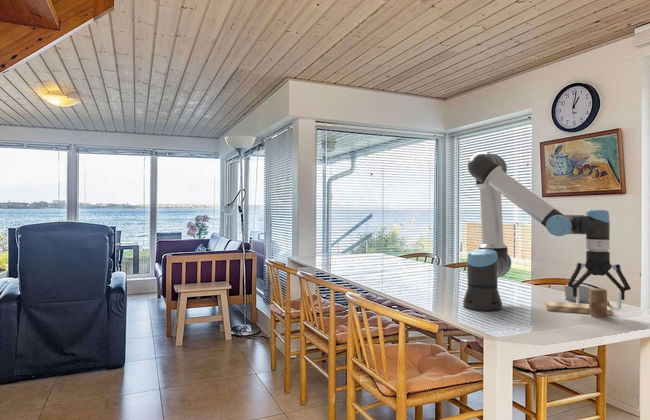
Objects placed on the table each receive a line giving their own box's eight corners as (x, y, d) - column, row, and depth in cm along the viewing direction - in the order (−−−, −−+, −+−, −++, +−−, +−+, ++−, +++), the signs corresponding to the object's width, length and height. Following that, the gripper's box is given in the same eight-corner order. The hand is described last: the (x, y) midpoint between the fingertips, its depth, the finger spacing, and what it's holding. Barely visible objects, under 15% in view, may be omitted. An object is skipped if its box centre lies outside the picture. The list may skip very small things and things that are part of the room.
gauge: (591, 316, 161) (591, 289, 161) (584, 307, 174) (584, 283, 174) (606, 317, 159) (606, 290, 159) (598, 308, 173) (598, 284, 173)
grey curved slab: (611, 305, 179) (606, 283, 178) (604, 310, 177) (599, 288, 176) (572, 297, 194) (567, 277, 193) (566, 302, 192) (561, 282, 190)
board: (547, 310, 170) (547, 305, 170) (545, 305, 179) (545, 300, 179) (612, 315, 162) (612, 310, 162) (607, 310, 170) (607, 305, 170)
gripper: (561, 250, 163) (562, 306, 163) (640, 252, 153) (640, 311, 153) (559, 248, 170) (559, 302, 170) (634, 250, 160) (634, 307, 160)
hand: (598, 307), depth 162 cm, fingers open, 13 cm apart
